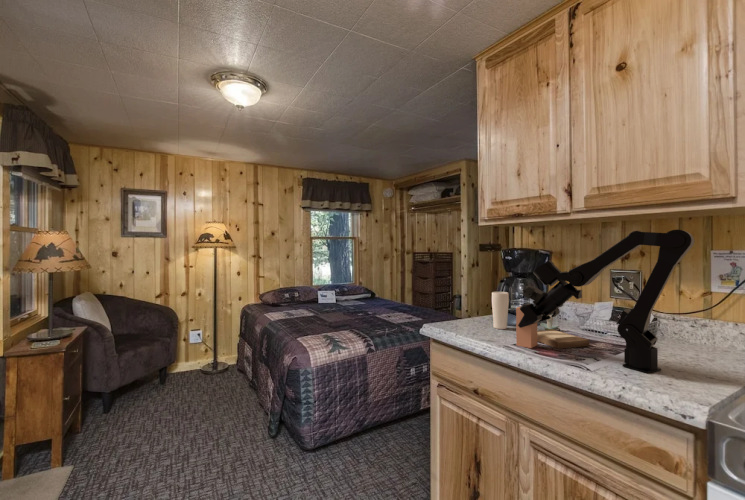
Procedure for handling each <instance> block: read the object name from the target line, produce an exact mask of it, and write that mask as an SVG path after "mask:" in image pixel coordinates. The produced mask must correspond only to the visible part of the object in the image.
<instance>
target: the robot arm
mask: <svg viewBox="0 0 745 500" xmlns="http://www.w3.org/2000/svg"><path fill="white" fill-rule="evenodd" d="M694 244H695V238H694V236H693V234H692V233H690V232H689V231H685V230H683V229H672V230H669V231H667V232H656V231H655V232H653V231H651V232H650V231H641V230H633V231H632V232H629V234H628V235H627V236H626V237H624V238H622V239H621V240H620V241H618V242H616V243H615V244H613V245H612V246H611V247H610V248H608V249H607V250H605V251H604V252H602V253H601V254H599V255H598V256H596V257H595V258H592V260H590V261H586V262H584V263H582V264H580V265H577V266H575V267H573V268H571V269H570V270H569V271H562V270H560V269H559V268H558V267H557V266H556V265H555V263H554V262H553V261H552V260H546V262H545V263H543V264H541V265H539V266H537V267H536V268H535V269H534V270H533V271H532V273H533V275H534V276H536V278H537V279H538V280H539V281H540V282H541V283H542V284H543V285H544V286H546V287H547V286H549V287H552V288H550V289H549V290H548V291H546V292H545V291H543V290H540V288H537V287H535V286H533V285H531V284H530V285H526V286H524V288H523V289H522V295H523V296H524V297H527V298H528V299H530V300H531V301H532V300H533V301H532V303H524V304H522V305H521V307H520V306H519V307H520V310H521V311H522V312H523V314H524V316H523V318H522V319H521V321H520V323H519V324H518V326H519V327H520V328H521V327H525V326H528V325H531V324H535V323H537V324H538V323H542V322H544V321H547V319H550V318H551V317H550V316H549V315H551V316H552V318H553V319H554V318H556V317H557V316H558V315H559V314H560V309H559V308H562V307H564V304H565V303H566V302H568V301H569V300H570V299H571V298H572V297H574V298H575V299H576V300H579V299H582V298H583V294H582V293H583V290H582V289H578V287H584V286H588V285H591V284H592V283H593V282H594V280H596V279H597V278H598V277H599V276H600V275H601V273H602V272H604V270H606V269H607V268H608V267H610V266H612V265H613V264H615V263H616V262H618V261H619V260H621V259H622V258H624V257H626V256H627V255H628V254H630V253H631V252H633V251H635V250H636V249H638V248H639V247H640V246H651V247H659V249H658V250H659V251H658V256H657V260H656V263H655V265H654V268H653V269H652V271H651V273H650V275H649V277H648V279H647V281H646V283H645V285H644V286H643V289H642V291H641V292H640V295H639V296H638V299H637V300H636V302H635V305H634V306H633V307H632V308H631V309H629V308H626V309H624V310H622V311H621V314H620V318H619V319H618V321H617V322H615V324H616V325H618V326H617V329H616V330H617V333H618V335H619V336H620V337H621V338H622V339H624V342H625V347H624V351H623V352H624V358H623V359H624V360H623V361H624V363H622V367H624V368H628V369H632V370H636V371H639V372H642V373H645V374H650V373H655V372H659V371H662V367H659V364H658V363H659V362H658V360H659V359H658V358H659V357H658V356H659V355H658V353H659V351H658V347H655V345H656V343H657V341H658V337H657V336H656V335H655V334H654V333H653V332H652V331H650V330H649V327H650V322H651V317H652V312H653V310H654V308H655V305H656V304H657V302H658V301H659V298H660V296H661V294H662V292H663V291H664V289H665V288H666V287H665V286H666V285H667V283H668V281H669V280H670V278H671V275H672V274H673V272H674V269H675V268H676V267H677V265H678V264H679V263H680V262H681V260H683V259H684V257H685V256H686V255H687V254H688V253H689V252H690V250H691V249H692V248H693V246H694Z"/></svg>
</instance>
